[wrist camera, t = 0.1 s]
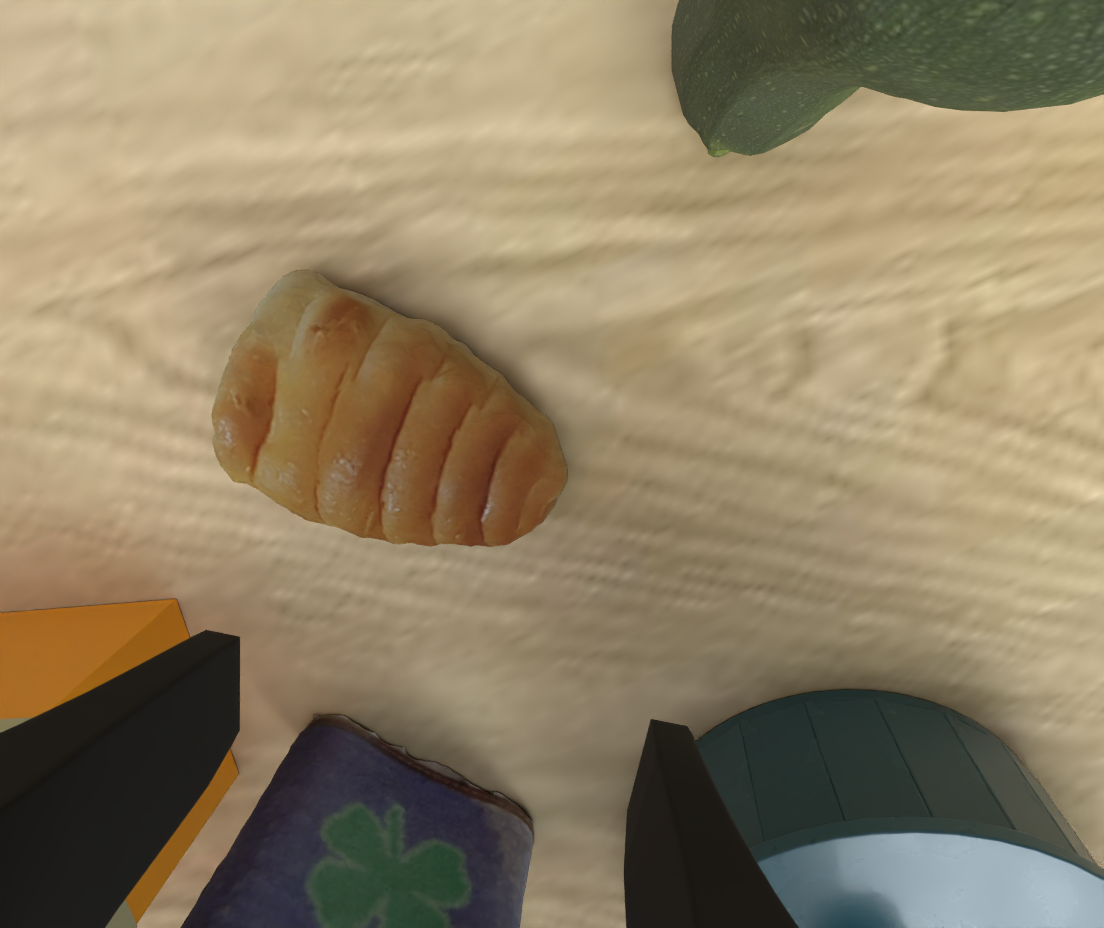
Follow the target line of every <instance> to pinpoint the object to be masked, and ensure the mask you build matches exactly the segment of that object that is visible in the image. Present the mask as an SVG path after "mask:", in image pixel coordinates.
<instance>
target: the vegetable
mask: <svg viewBox="0 0 1104 928" xmlns="http://www.w3.org/2000/svg"><path fill="white" fill-rule="evenodd" d="M672 74H673V77H674V81H675V85H676V89H677V93H678V96H679V100H680V104H681V108H682V112H683V115H684V117H685V118H686V120H687V122H688V123H689V125H690V126H691V127H692V128H693V129H694V130H695V131H696V132H697V133H698V134H699V136H700V138H701V139H702V141H703V143H704V145H705V146H706V147H707V149H708V154H709V155H711V156H713V157H721V156H723V155H725V154H726V153H728V152H730V151H732V152H736V153H739V154H744V155H750V156H751V155H756V154H761V153H765V152H767V151H769V150H771V149H773V148H775V147H777V146H779V145H782V144H784V143H786V142H788V141H790V140H791V139H793V138H795V137H797V136H798V135H800V134H802V133H804V132H805V131H807V130H809V129H810V128H811V127H812V126H813V125H814V124H816V123H817V122H818V121H819V120H820V119H821V118H822V117H823V116H824V115H825V114H826V113H828V112H829V111H831V110H832V109H834V108H835V107H836V106H838V105H839V104H840V103H842V102H843V101H844V100H846V99H847V98H848V97H850V96H851V95H852V94H853V93H854V92H855V91H856V90H858V89H859V88H860V87H865V88H869V89H872V90H875V91H878V92H881V93H884V94H887V95H891V96H894V97H899V98H906V99H910V100H913V101H916V102H920V103H923V104H927V105H930V106H934V107H941V108H948V109H955V110H966V111H996V112H1006V111H1015V110H1024V109H1033V108H1042V107H1051V106H1059V105H1068V104H1073V103H1076V102H1079V101H1083V100H1086V99H1089V98H1092V97H1096V96H1099V95H1102V94H1104V0H679V2H678V5H677V9H676V13H675V17H674V21H673V25H672Z"/></svg>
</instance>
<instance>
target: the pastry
mask: <svg viewBox="0 0 1104 928" xmlns="http://www.w3.org/2000/svg"><path fill="white" fill-rule="evenodd" d="M212 423H213V426H214V430H215V435H214V438H213V445H214V451H215V455H216V457H217V459H218V461H219V463H220V465H221V466H222V468H223V469H224V470H225V471H226V473H227V474H228V475H229V477H230V478H231V479H232V480H233V481H234V482H238V483H244V484H248V485H250V486H252V487H254V488H256V489H258V490H259V491H261V492H262V493H264V494H265V495H267V496H268V497H270V498H271V499H272V500H274V501H275V502H276V503H277V504H280V505H282V506H283V507H285V508H287V509H288V510H290V511H291V512H292V513H293V514H297V515H299V516H300V517H302V518H304V519H305V520H308V521H312V522H316V523H321V524H326V525H329V526H335V527H338V528H341V529H343V530H346V531H348V532H350V533H352V534H354V535H356V536H358V537H362V538H375V539H380V540H385V541H388V542H390V543H393V544H406V543H415V544H418V545H425V546H435V545H438V544H440V543H442V544H458V545H467V546H475V545H479V546H487V547H493V546H499V545H507V544H510V543H511V542H513V541H514V540H516V539H518V538H519V537H521V536H523V535H525V534H527V533H529V532H531V531H532V530H533V529H534V528H535V527H536V526H537V525H539V524H541V523H542V522H543V521H544V520H545V518H546V517H547V515H548V514H549V512H550V511H551V510H552V508H553V507H554V505H555V503H556V500H557V498H558V496H559V495H560V494H561V492H562V491H563V489H564V487H565V484H566V482H567V478H568V469H567V465H566V462H565V459H564V456H563V453H562V450H561V447H560V443H559V440H558V436H557V433H556V430H555V427H554V424H553V423H552V421H551V420H550V419H549V418H548V417H547V416H546V415H544V414H543V413H541V412H540V411H538V410H537V409H536V408H534V407H533V406H532V405H531V403H530V402H529V401H528V400H527V399H525V398H524V397H522V396H520V395H519V394H518V393H516V392H515V391H514V390H513V388H512V387H511V386H510V385H509V383H508V382H507V380H506V379H505V378H504V376H503V375H502V374H501V373H500V372H499V371H496V370H494V369H492V368H491V367H490V366H489V365H487V364H486V363H484V362H483V361H481V360H479V359H478V358H477V357H476V356H475V355H474V354H473V353H472V352H471V351H470V349H469V348H468V347H467V346H466V345H465V344H464V343H462V342H459V341H456V340H454V339H453V338H452V337H451V336H450V335H449V334H448V333H447V332H446V331H445V330H444V329H442V328H441V327H439V326H438V325H436V324H434V323H432V322H430V321H428V320H425V319H409V318H408V317H406V316H404V315H401V314H398V313H396V312H394V311H393V310H392V309H390V308H388V307H385V306H383V305H382V304H380V303H379V302H377V301H376V300H374V299H372V298H369V297H366V296H364V295H362V294H359V293H356V292H353V291H350V290H346V289H341V288H339V287H336V286H335V285H334V284H332V283H331V282H329V281H328V280H327V279H325V278H324V277H322V276H321V275H319V274H318V273H315V272H312V271H310V270H296V271H293V272H290V273H288V274H286V275H284V276H283V277H282V278H281V279H280V280H279V281H278V282H277V283H276V285H275V286H274V287H273V288H272V289H271V290H270V292H269V293H268V294H267V295H266V297H265V298H263V299H262V300H261V302H260V304H259V305H258V307H257V309H256V311H255V315H254V319H253V321H252V322H251V324H250V325H249V326H248V327H247V329H246V330H245V331H244V332H243V333H242V334H241V336H240V338H239V339H238V341H237V342H236V344H235V345H234V347H233V349H232V354H231V355H230V357H229V362H228V364H227V366H226V369H225V371H224V374H223V376H222V379H221V382H220V386H219V389H218V393H217V396H216V399H215V403H214V406H213V409H212Z"/></svg>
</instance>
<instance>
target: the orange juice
mask: <svg viewBox="0 0 1104 928" xmlns="http://www.w3.org/2000/svg"><path fill="white" fill-rule="evenodd" d="M189 638H190V636H189V634H188V631H187V628H186V625H185V622H184V620H183V617H182V614H181V611H180V608H179V606H178V603H177V600H176V599H170V600H158V601H145V602H133V603H120V604H107V605H95V606H82V607H70V608H57V609H44V610H32V611H19V612H6V613H0V732H3V731H5V730H7V729H10V728H12V727H14V726H16V725H19V724H21V723H23V722H25V721H27V720H29V719H31V718H33V717H35V716H38V715H40V714H42V713H44V712H46V711H48V710H50V709H52V708H54V707H56V706H59V705H61V704H63V703H65V702H67V701H69V700H71V699H73V698H75V697H77V696H80V695H82V694H84V693H86V692H88V691H90V690H92V689H94V688H96V687H97V686H99V685H101V684H103V683H105V682H107V681H109V680H111V679H113V678H115V677H117V676H119V675H121V674H122V673H124V672H126V671H128V670H130V669H132V668H134V667H136V666H138V665H140V664H142V663H143V662H145V661H147V660H149V659H151V658H153V657H155V656H156V655H158V654H160V653H162V652H164V651H166V650H168V649H170V648H172V647H173V646H175V645H177V644H179V643H181V642H183V641H185V640H187V639H189ZM238 774H239V773H238V770H237V767H236V764H235V762H234V759H233V756H232V753H231V751H230V749H229V751H228V753H227V755H226V756H225V758H224V760H223V762H222V763H221V765H220V767H219V769H218V770H217V772H216V774H215V776H214V777H213V779H212V781H211V782H210V784H209V786H208V787H207V788H206V790H205V791H204V793H203V794H202V796H201V797H200V798H199V800H198V801H197V802H196V804H195V805H194V807H193V808H192V809H191V811H190V812H189V813H188V815H187V816H186V818H185V819H184V820H183V822H182V823H181V824H180V826H179V827H178V829H177V830H176V831H175V833H174V834H173V835H172V837H171V838H170V839H169V841H168V842H167V843H166V845H165V846H164V848H163V849H162V850H161V852H160V853H159V854H158V856H157V857H156V858H155V860H154V861H153V862H152V864H151V865H150V866H149V868H148V869H147V871H146V872H145V873H144V875H143V876H142V877H141V879H140V880H139V881H138V883H137V884H136V885H135V887H134V888H133V889H132V891H131V892H130V894H129V895H128V896H127V898H126V899H125V900H124V902H123V903H122V904H121V906H120V907H119V908H118V910H117V911H116V913H115V914H114V916H113V917H112V919H111V920H110V922H109V923H108V925H107V926H106V927H105V928H137V923H138V921H139V920H140V918H141V917H142V915H143V914H144V913H145V911H146V910H147V908H148V907H149V905H150V904H151V902H152V901H153V899H154V898H155V896H156V895H157V893H158V892H159V890H160V889H161V888H162V886H163V885H164V883H165V882H166V880H167V879H168V877H169V876H170V874H171V873H172V871H173V870H174V868H175V867H176V866H177V864H178V863H179V861H180V860H181V858H182V857H183V855H184V854H185V852H186V851H187V849H188V848H189V846H190V845H191V843H192V842H193V841H194V839H195V838H196V836H197V835H198V833H199V832H200V830H201V829H202V827H203V826H204V824H205V823H206V821H207V820H208V819H209V817H210V816H211V814H212V813H213V811H214V810H215V808H216V807H217V805H218V804H219V802H220V801H221V799H222V798H223V797H224V795H225V794H226V792H227V791H228V789H229V788H230V786H231V785H232V783H233V782H234V780H235V779H236V777H237V776H238Z"/></svg>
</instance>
